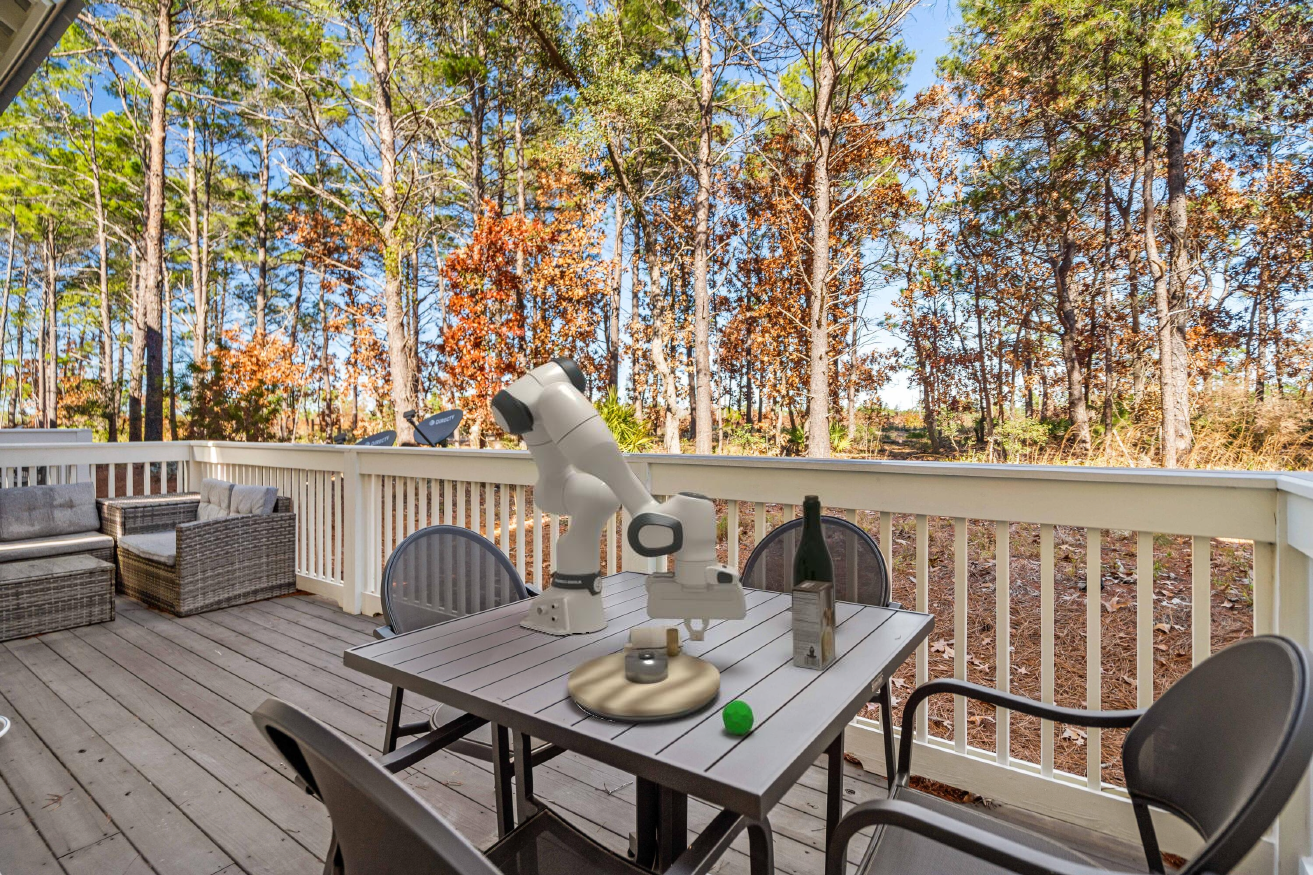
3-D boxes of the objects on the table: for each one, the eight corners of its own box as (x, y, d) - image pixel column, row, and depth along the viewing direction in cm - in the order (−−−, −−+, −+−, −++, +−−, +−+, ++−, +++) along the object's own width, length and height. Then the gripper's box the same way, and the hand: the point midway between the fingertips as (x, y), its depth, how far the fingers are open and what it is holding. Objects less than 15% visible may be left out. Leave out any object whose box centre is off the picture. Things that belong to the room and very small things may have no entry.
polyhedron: (720, 726, 102) (719, 696, 102) (750, 724, 103) (749, 695, 103) (725, 740, 97) (724, 709, 97) (756, 739, 98) (756, 708, 98)
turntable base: (545, 707, 111) (544, 684, 111) (619, 660, 134) (619, 641, 134) (679, 735, 99) (679, 710, 99) (735, 678, 123) (735, 658, 123)
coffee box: (806, 653, 137) (805, 579, 137) (836, 658, 133) (834, 582, 134) (792, 666, 129) (790, 587, 129) (823, 671, 126) (821, 591, 126)
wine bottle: (844, 635, 149) (841, 496, 150) (803, 638, 147) (800, 497, 147) (823, 622, 159) (821, 492, 160) (785, 626, 157) (782, 494, 158)
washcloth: (630, 661, 135) (630, 647, 135) (628, 636, 153) (628, 623, 153) (685, 659, 136) (685, 644, 136) (677, 634, 153) (676, 621, 153)
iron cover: (616, 679, 115) (616, 657, 115) (638, 665, 122) (638, 644, 122) (655, 686, 111) (655, 663, 111) (675, 672, 118) (675, 650, 118)
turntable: (536, 698, 110) (536, 661, 110) (616, 650, 135) (616, 620, 135) (682, 728, 98) (682, 686, 98) (740, 669, 123) (740, 636, 123)
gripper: (643, 575, 126) (644, 644, 126) (746, 575, 124) (747, 646, 123) (647, 568, 132) (648, 634, 132) (745, 569, 130) (746, 636, 130)
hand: (697, 640), depth 128 cm, fingers closed
